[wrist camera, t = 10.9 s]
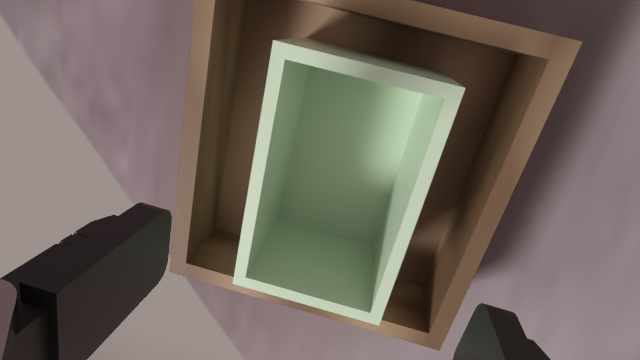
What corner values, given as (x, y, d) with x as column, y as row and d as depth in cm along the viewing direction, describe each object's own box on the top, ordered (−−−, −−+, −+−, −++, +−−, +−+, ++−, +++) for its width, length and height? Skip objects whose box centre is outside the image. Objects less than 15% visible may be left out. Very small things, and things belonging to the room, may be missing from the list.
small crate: (439, 70, 18) (465, 87, 12) (379, 250, 22) (378, 325, 16) (306, 37, 18) (273, 40, 13) (270, 220, 22) (232, 283, 17)
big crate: (535, 39, 18) (582, 41, 13) (429, 293, 23) (439, 350, 19) (241, -33, 18) (199, -52, 14) (206, 229, 24) (169, 271, 20)
